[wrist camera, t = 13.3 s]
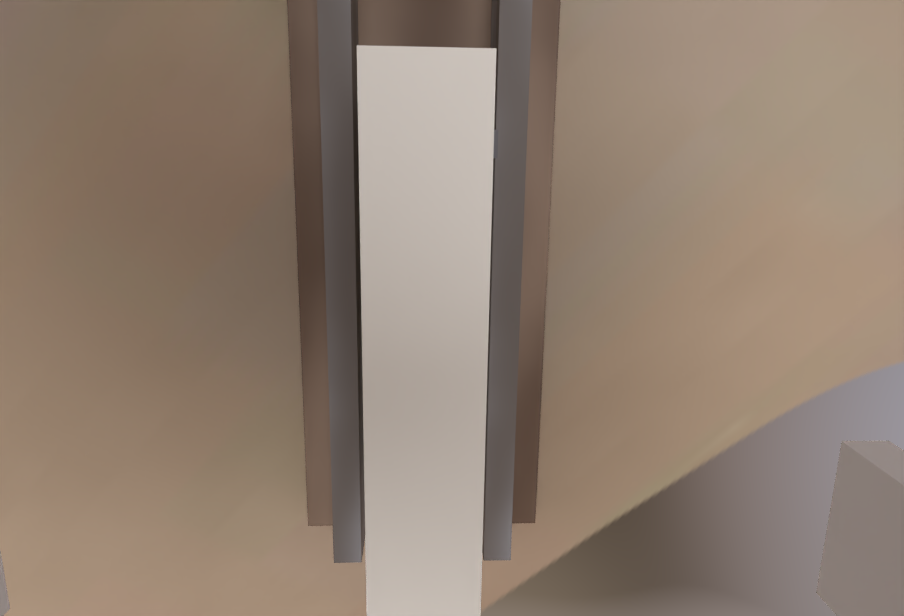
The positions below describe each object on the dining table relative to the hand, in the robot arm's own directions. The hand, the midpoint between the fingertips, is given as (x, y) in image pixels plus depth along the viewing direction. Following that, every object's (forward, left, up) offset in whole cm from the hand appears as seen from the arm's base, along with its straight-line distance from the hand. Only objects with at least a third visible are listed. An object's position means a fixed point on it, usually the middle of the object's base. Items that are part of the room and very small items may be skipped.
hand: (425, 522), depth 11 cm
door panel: (0, 0, -20) cm, 20 cm away
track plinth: (0, 0, -21) cm, 21 cm away
